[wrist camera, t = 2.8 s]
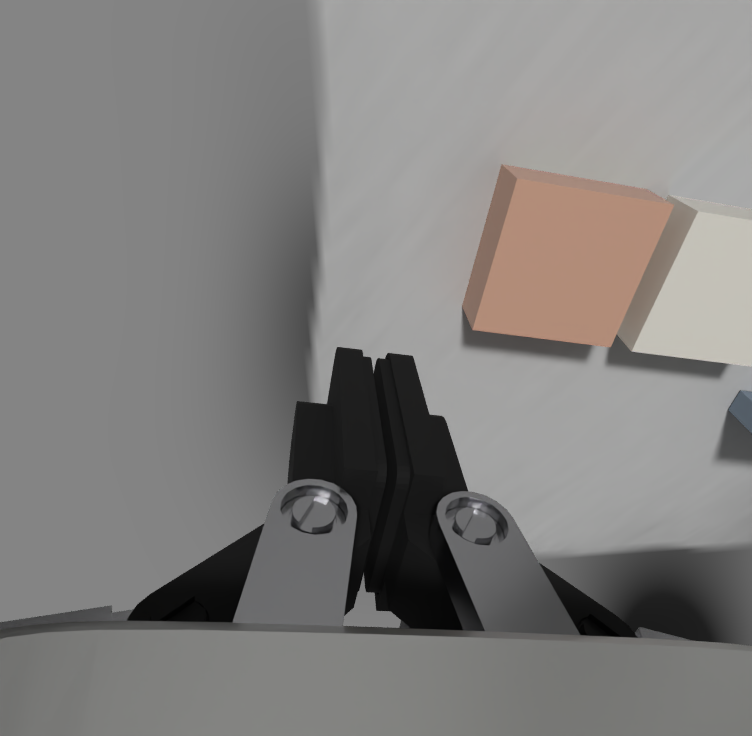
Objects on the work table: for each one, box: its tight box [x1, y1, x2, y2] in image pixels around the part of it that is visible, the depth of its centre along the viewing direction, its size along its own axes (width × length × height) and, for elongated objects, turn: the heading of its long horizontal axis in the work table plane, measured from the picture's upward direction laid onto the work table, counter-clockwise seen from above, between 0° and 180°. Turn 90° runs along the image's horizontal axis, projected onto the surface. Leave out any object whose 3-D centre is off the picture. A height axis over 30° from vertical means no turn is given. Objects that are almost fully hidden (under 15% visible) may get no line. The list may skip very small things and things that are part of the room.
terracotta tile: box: [462, 164, 674, 347], centre depth 23 cm, size 6×6×2 cm
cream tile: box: [617, 195, 752, 367], centre depth 24 cm, size 6×6×2 cm
